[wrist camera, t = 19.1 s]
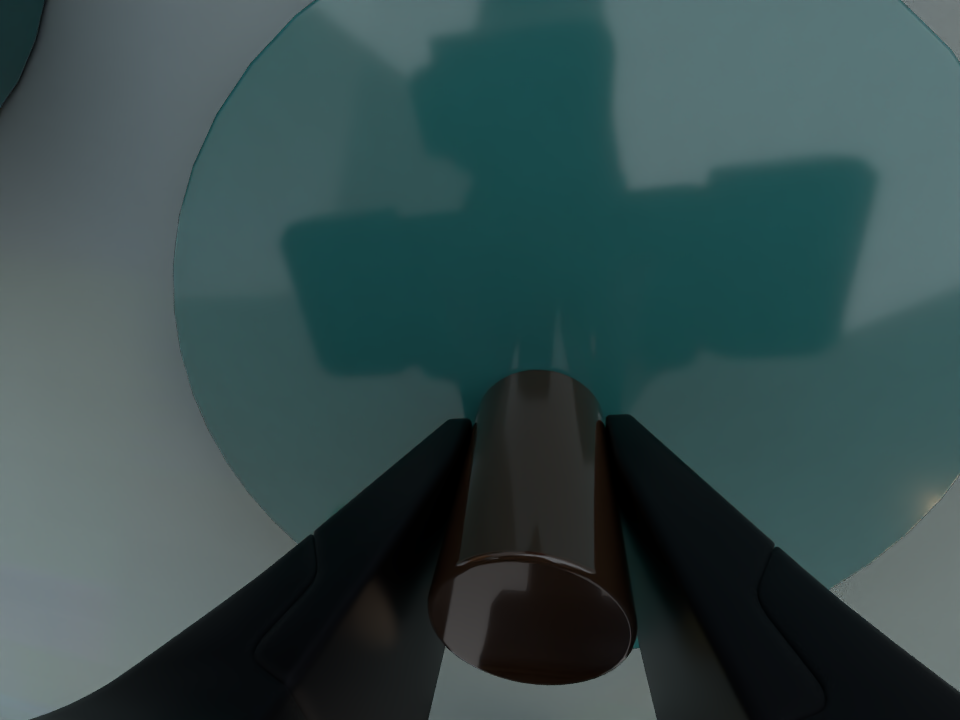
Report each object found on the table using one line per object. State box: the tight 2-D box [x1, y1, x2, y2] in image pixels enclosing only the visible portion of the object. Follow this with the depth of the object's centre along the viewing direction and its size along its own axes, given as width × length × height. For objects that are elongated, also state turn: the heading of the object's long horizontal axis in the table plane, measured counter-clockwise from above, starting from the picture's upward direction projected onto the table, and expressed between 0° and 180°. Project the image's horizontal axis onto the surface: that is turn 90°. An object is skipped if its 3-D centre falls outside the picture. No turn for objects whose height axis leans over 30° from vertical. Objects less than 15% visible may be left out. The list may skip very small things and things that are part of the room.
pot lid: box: [173, 0, 960, 685], centre depth 7 cm, size 15×15×5 cm
